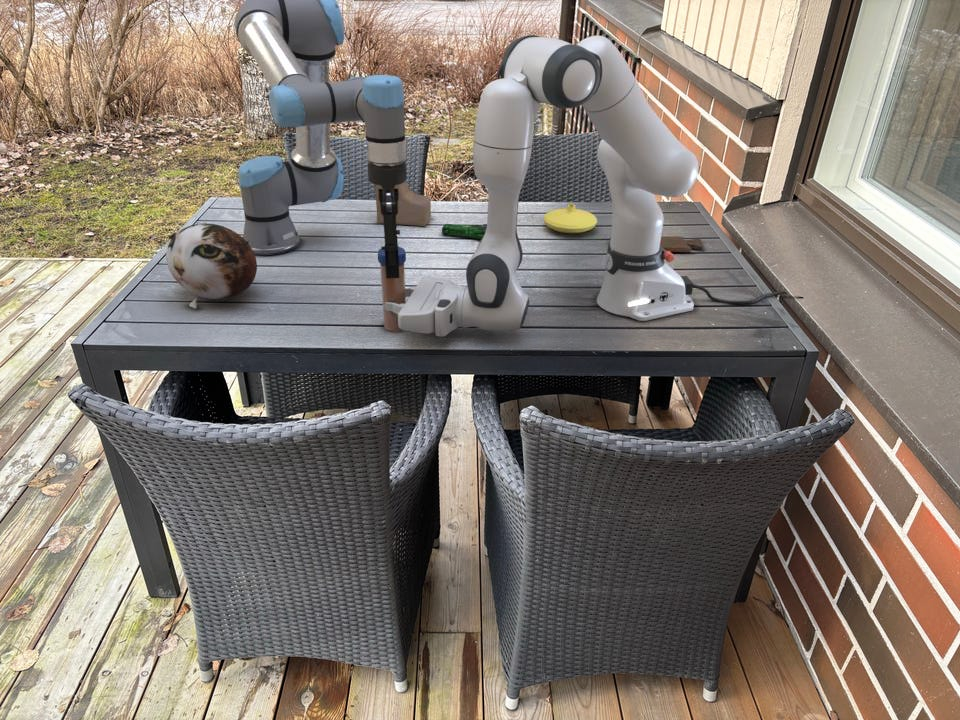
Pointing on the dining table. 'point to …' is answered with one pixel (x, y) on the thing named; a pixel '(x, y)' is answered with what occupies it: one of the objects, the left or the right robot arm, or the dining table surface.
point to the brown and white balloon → (211, 261)
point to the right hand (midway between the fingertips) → (390, 299)
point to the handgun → (465, 230)
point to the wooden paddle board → (679, 244)
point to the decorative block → (408, 207)
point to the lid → (400, 255)
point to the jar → (392, 296)
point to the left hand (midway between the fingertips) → (392, 271)
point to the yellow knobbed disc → (570, 220)
